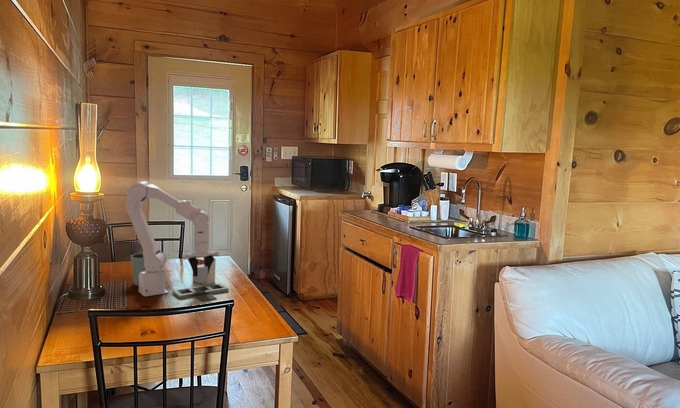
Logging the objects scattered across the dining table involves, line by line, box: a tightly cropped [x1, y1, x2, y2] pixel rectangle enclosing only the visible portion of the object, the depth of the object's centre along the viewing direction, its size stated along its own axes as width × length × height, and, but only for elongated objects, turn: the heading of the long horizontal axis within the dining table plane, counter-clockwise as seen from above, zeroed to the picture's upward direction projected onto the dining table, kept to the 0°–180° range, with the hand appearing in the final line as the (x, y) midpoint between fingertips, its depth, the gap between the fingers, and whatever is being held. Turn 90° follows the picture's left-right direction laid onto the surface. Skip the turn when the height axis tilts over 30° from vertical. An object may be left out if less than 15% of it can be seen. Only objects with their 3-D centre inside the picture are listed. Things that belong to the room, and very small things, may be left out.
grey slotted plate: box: [171, 282, 230, 300], centre depth 200 cm, size 20×8×1 cm, turn 127°
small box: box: [192, 257, 217, 286], centre depth 215 cm, size 8×6×10 cm
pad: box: [195, 294, 218, 303], centre depth 193 cm, size 6×6×1 cm
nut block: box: [194, 264, 208, 284], centre depth 199 cm, size 4×4×6 cm
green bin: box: [130, 252, 146, 287], centre depth 209 cm, size 10×10×12 cm
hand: (200, 275), depth 199 cm, fingers closed on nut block, 4 cm apart
